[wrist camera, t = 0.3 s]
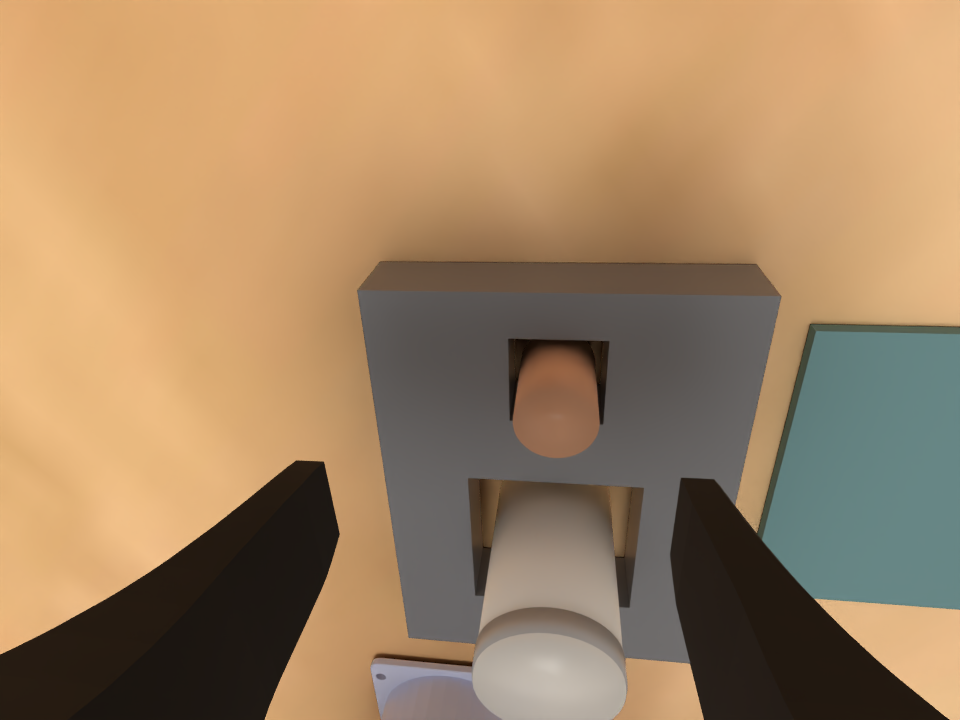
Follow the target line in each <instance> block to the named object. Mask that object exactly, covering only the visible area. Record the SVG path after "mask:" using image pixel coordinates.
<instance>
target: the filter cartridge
mask: <svg viewBox="0 0 960 720" xmlns="http://www.w3.org/2000/svg"><path fill="white" fill-rule="evenodd" d="M472 683H473V688H474V691H475V693H476V695H477V697H478V699H479V700H480V701H481V703H482V704H483V705H484V706H485V707H486V708H487V709H488V710H489V711H491V712H492V713H493V714H495V715H496V716H498V717H499V718H501V719H502V720H612V719H613V718H614V717H615V716H616V715H617V714H618V713H619V712H620V711H621V709H622V708H623V706H624V703H625V700H626V694H627V673H626V662H625V655H624V651H623V647H622V636H621V624H620V612H619V600H618V589H617V577H616V565H615V553H614V542H613V530H612V518H611V506H610V496H609V491H608V488H607V486H604V485H585V484H567V483H549V482H531V481H513V480H503V482H502V485H501V488H500V494H499V501H498V508H497V514H496V521H495V528H494V535H493V541H492V548H491V555H490V561H489V568H488V575H487V582H486V588H485V595H484V602H483V608H482V615H481V622H480V629H479V635H478V637H477V640H476V644H475V651H474V657H473V664H472Z"/></svg>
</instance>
